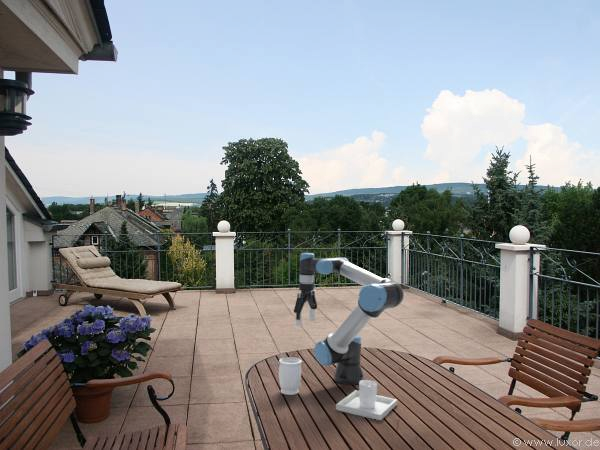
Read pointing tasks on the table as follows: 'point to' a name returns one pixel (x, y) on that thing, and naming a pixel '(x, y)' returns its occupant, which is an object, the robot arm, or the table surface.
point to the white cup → (367, 393)
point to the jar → (289, 375)
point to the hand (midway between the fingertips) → (305, 323)
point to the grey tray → (353, 406)
